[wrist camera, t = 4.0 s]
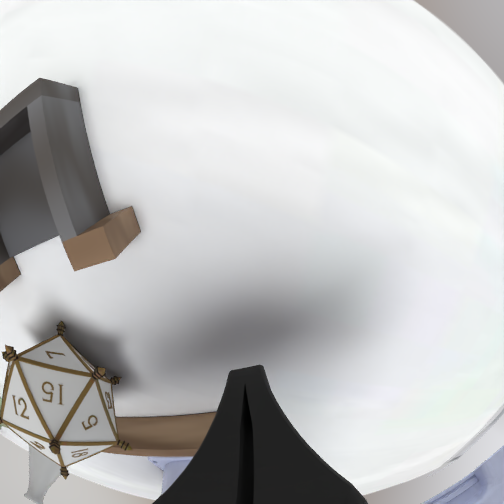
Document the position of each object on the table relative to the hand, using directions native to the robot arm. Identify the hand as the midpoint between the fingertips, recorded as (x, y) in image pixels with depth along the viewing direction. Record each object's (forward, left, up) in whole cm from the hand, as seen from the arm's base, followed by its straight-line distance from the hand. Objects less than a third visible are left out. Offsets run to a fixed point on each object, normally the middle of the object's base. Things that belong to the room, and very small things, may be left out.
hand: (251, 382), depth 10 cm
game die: (0, +11, -4) cm, 12 cm away
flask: (-19, +35, -4) cm, 40 cm away
